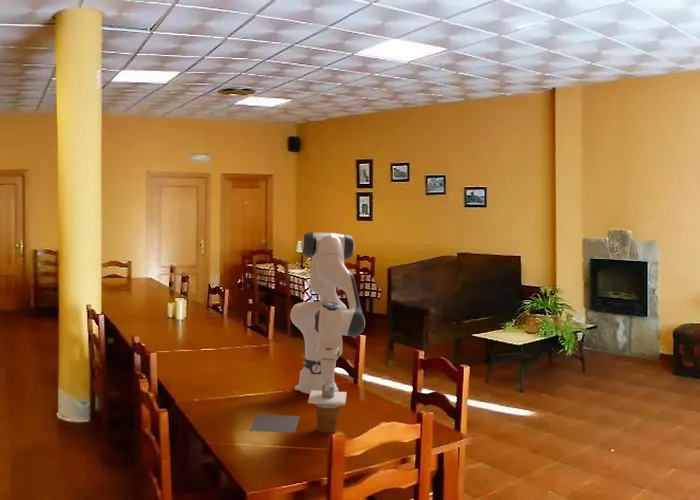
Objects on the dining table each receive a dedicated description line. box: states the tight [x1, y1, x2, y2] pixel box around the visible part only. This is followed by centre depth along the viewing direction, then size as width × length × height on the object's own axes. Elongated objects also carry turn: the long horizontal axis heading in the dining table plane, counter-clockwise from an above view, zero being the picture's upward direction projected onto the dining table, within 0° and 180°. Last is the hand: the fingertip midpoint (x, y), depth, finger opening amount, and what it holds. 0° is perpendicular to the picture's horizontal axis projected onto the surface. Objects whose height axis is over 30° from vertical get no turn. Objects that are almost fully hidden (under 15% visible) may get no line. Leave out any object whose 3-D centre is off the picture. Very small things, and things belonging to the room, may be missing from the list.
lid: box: [307, 384, 347, 406], centre depth 239 cm, size 13×13×5 cm
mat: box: [249, 413, 301, 434], centre depth 244 cm, size 18×16×1 cm
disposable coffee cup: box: [314, 404, 341, 434], centre depth 239 cm, size 10×10×12 cm
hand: (328, 386), depth 239 cm, fingers open, 8 cm apart
